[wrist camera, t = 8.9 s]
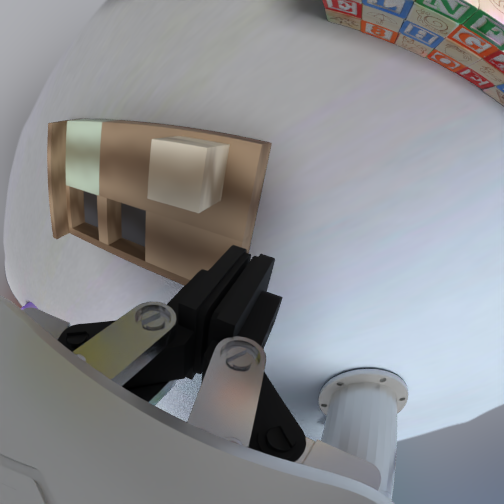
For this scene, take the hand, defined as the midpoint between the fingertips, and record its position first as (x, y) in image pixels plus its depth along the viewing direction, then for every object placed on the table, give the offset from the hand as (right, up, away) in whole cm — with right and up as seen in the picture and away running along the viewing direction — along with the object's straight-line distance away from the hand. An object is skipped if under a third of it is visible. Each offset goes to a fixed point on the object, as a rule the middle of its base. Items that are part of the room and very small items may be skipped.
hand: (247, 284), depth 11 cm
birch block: (-4, +9, +13) cm, 16 cm away
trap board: (-12, +8, +19) cm, 24 cm away
